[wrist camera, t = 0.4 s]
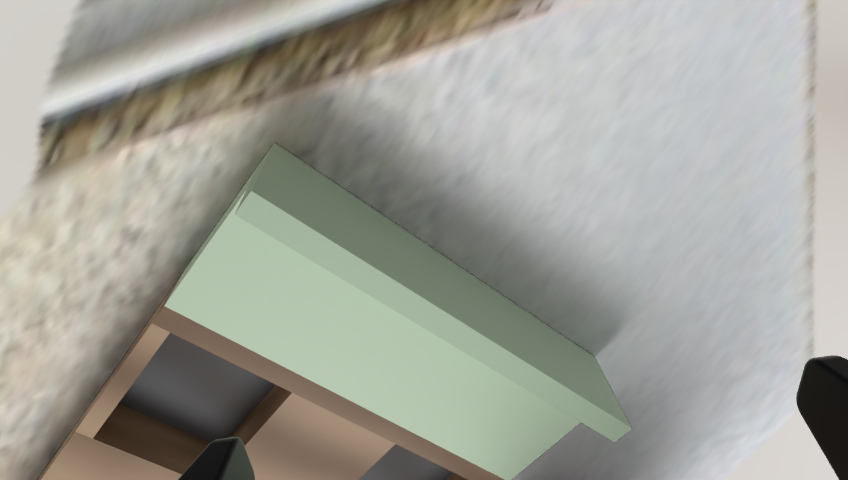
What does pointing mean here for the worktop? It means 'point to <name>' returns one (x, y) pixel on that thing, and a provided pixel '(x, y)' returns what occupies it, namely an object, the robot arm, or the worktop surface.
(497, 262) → the worktop surface
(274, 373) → the trap board
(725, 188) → the worktop surface
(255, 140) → the worktop surface
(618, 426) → the pad
